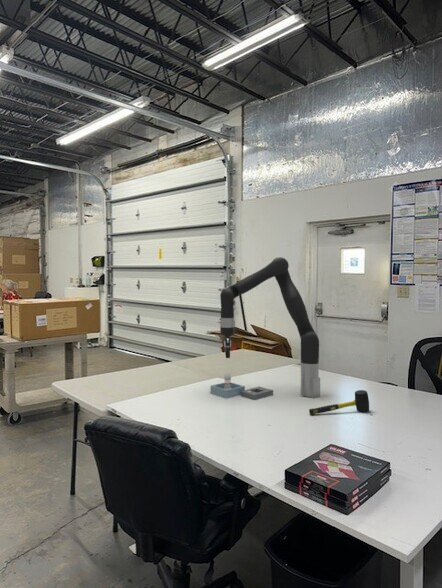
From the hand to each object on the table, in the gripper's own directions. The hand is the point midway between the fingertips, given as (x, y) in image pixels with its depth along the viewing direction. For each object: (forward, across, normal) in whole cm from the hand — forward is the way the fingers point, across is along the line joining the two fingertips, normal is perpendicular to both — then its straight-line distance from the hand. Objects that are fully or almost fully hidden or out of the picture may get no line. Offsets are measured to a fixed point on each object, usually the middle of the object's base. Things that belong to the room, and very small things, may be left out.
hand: (227, 356), depth 219 cm
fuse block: (+20, -4, -15) cm, 25 cm away
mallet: (+20, -33, -50) cm, 63 cm away
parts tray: (+20, 0, 0) cm, 20 cm away
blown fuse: (+19, 0, 0) cm, 19 cm away
